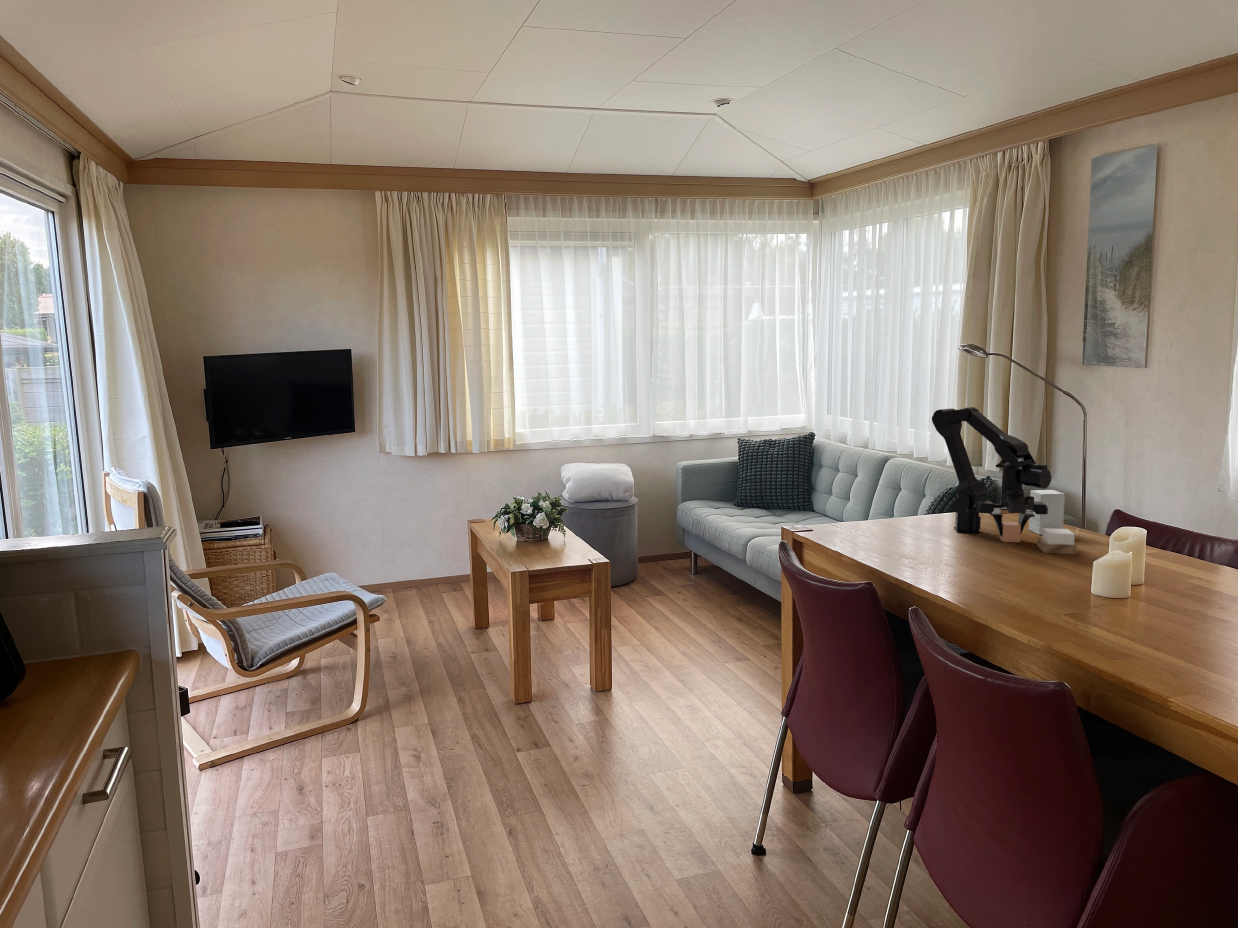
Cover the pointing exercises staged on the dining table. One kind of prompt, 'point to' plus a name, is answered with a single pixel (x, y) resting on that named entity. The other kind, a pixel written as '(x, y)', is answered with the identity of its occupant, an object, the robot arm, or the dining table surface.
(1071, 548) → the walnut slab
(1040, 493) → the supplement box
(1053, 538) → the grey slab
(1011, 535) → the terracotta block
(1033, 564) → the dining table surface
